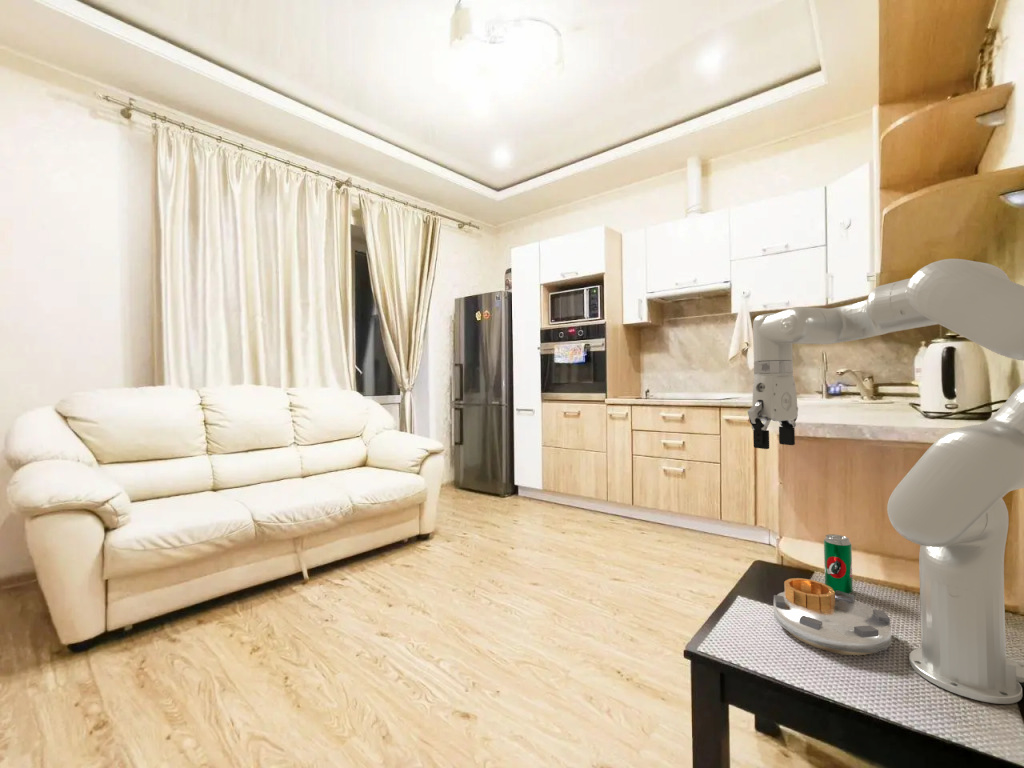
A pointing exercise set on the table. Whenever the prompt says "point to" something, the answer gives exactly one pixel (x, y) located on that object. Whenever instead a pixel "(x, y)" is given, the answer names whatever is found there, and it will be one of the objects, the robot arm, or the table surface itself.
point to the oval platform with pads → (831, 617)
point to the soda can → (838, 563)
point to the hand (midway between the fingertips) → (774, 446)
